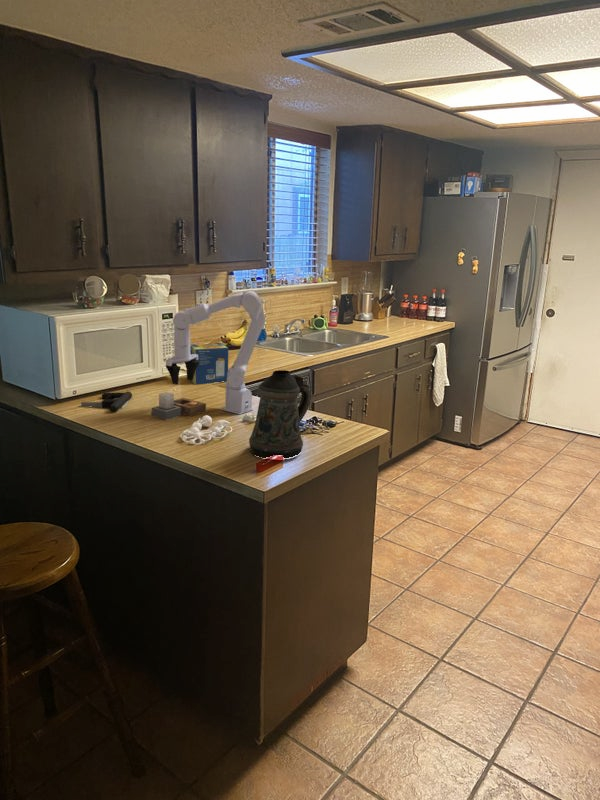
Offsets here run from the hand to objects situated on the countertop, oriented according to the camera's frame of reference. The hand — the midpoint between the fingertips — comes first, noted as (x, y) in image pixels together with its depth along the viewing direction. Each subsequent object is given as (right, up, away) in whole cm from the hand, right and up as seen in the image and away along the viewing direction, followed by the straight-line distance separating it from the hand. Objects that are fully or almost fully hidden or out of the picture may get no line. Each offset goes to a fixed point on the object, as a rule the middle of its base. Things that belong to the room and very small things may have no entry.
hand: (182, 381), depth 220 cm
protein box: (+2, +2, +45) cm, 45 cm away
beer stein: (+36, -22, -33) cm, 54 cm away
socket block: (+1, -11, +1) cm, 11 cm away
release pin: (+4, -11, -1) cm, 11 cm away
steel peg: (-5, -12, -6) cm, 14 cm away
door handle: (-29, -9, +4) cm, 31 cm away
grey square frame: (-5, -12, -6) cm, 14 cm away
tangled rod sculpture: (+13, -19, -23) cm, 32 cm away
